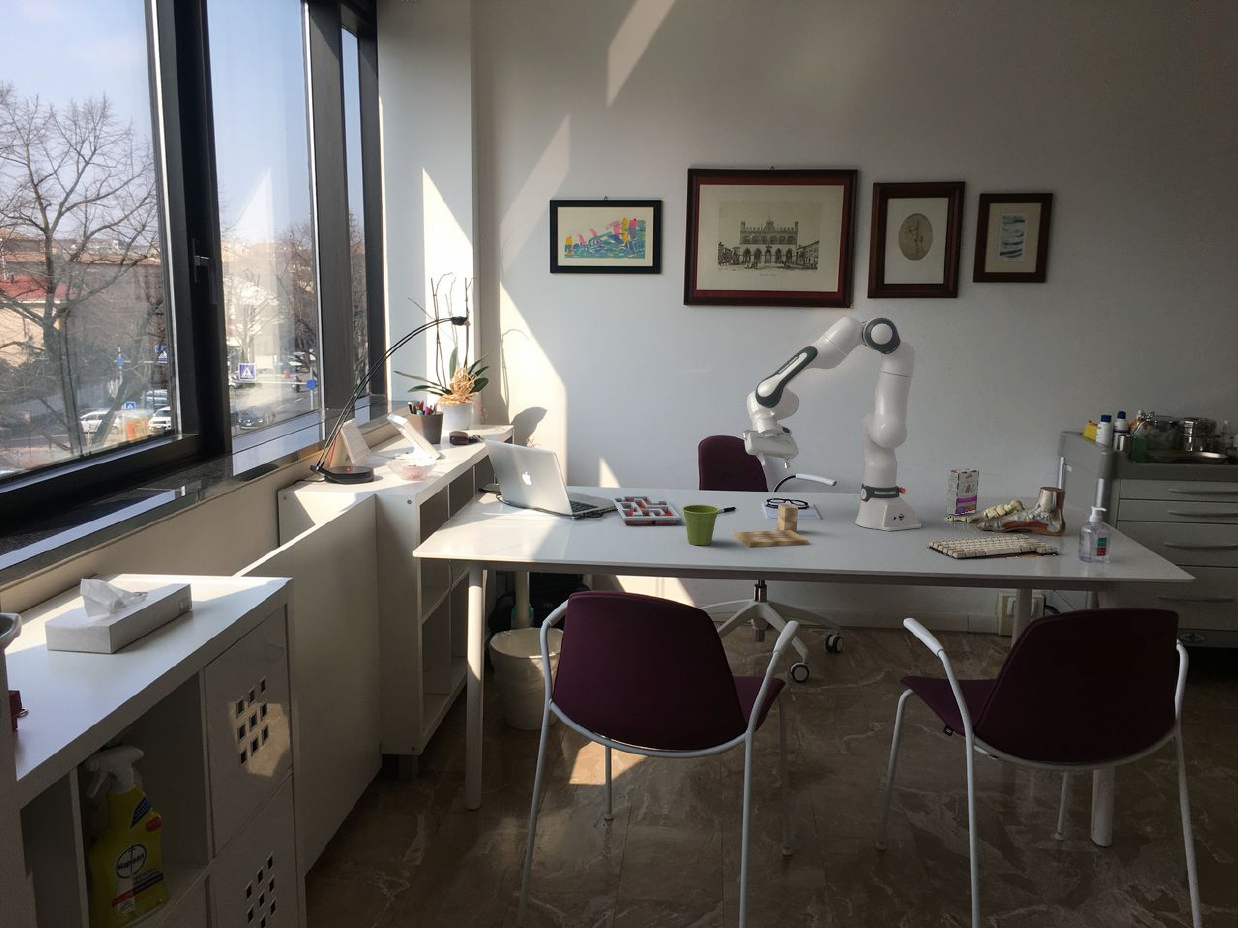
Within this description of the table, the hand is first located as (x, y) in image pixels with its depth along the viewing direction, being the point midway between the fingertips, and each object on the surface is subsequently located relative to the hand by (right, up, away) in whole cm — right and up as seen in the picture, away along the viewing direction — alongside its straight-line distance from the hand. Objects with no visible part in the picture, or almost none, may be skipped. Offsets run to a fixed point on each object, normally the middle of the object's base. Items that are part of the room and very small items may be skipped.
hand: (776, 466), depth 330 cm
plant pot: (-28, -25, -22) cm, 43 cm away
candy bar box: (+73, -18, +29) cm, 81 cm away
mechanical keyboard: (+65, -28, -22) cm, 74 cm away
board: (-5, -24, -17) cm, 30 cm away
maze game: (-45, -18, +16) cm, 51 cm away
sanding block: (+2, -22, -5) cm, 23 cm away
